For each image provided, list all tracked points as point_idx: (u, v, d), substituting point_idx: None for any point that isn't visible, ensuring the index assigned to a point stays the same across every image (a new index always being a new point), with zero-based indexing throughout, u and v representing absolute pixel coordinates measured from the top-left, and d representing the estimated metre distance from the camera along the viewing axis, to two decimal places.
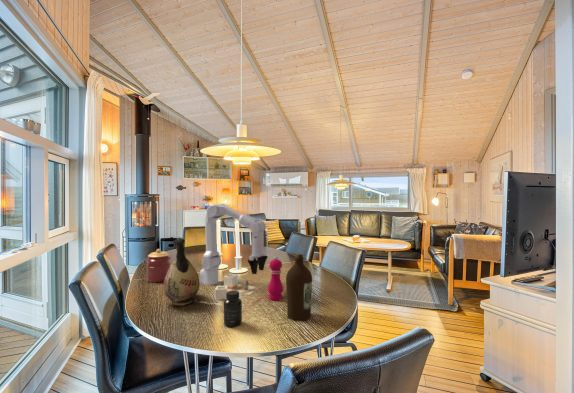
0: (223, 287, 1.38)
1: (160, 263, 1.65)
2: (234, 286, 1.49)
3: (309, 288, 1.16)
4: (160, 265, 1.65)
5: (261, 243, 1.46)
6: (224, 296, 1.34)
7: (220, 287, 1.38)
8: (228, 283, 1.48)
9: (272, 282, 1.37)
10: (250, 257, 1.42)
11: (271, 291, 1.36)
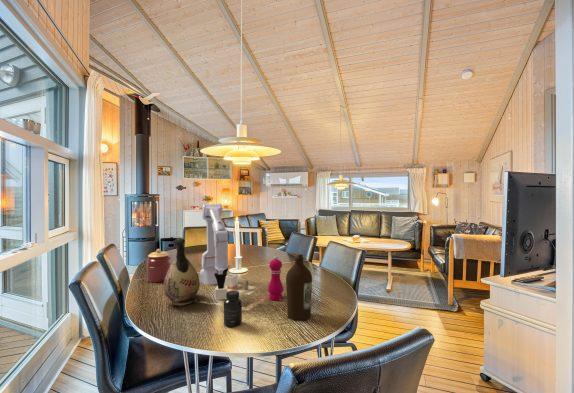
0: None
1: (160, 263, 1.65)
2: (234, 286, 1.49)
3: (309, 288, 1.16)
4: (160, 265, 1.65)
5: (220, 255, 1.33)
6: (224, 296, 1.34)
7: None
8: (228, 283, 1.48)
9: (272, 282, 1.37)
10: (219, 271, 1.29)
11: (271, 291, 1.36)
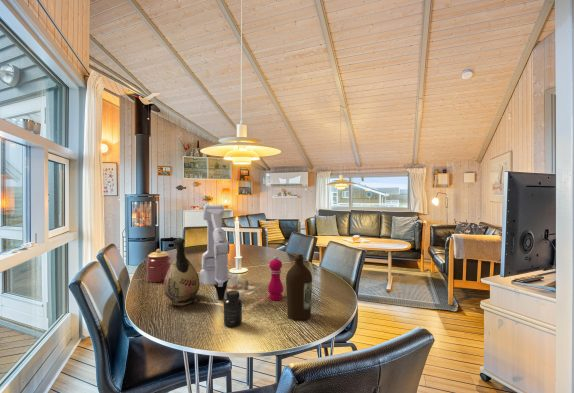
0: None
1: (160, 263, 1.65)
2: (234, 286, 1.49)
3: (309, 288, 1.16)
4: (160, 265, 1.65)
5: (220, 267, 1.33)
6: (224, 296, 1.34)
7: None
8: (228, 283, 1.48)
9: (272, 282, 1.37)
10: (219, 283, 1.29)
11: (271, 291, 1.36)
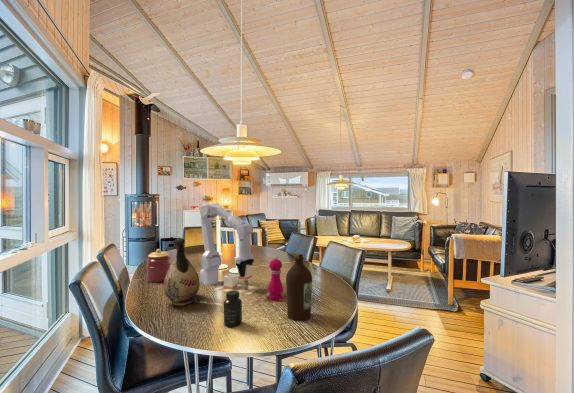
0: (248, 266, 1.48)
1: (160, 263, 1.65)
2: (234, 286, 1.49)
3: (309, 288, 1.16)
4: (160, 265, 1.65)
5: (247, 246, 1.44)
6: (245, 274, 1.44)
7: None
8: (228, 283, 1.48)
9: (272, 282, 1.37)
10: (237, 260, 1.40)
11: (271, 291, 1.36)
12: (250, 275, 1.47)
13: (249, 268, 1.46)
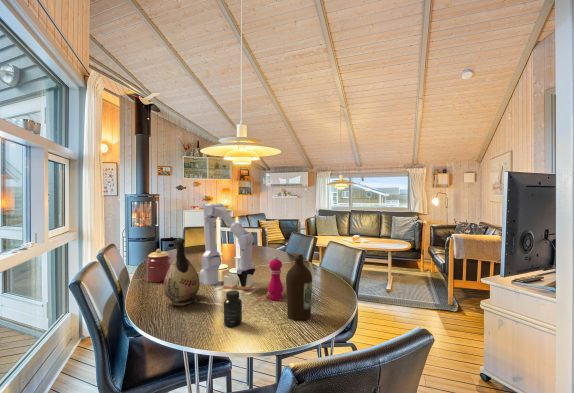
0: (249, 275, 1.49)
1: (160, 263, 1.65)
2: (234, 286, 1.49)
3: (309, 288, 1.16)
4: (160, 265, 1.65)
5: (249, 256, 1.45)
6: (246, 283, 1.44)
7: None
8: (228, 283, 1.48)
9: (272, 282, 1.37)
10: (238, 270, 1.41)
11: (271, 291, 1.36)
12: (251, 285, 1.47)
13: (250, 278, 1.46)
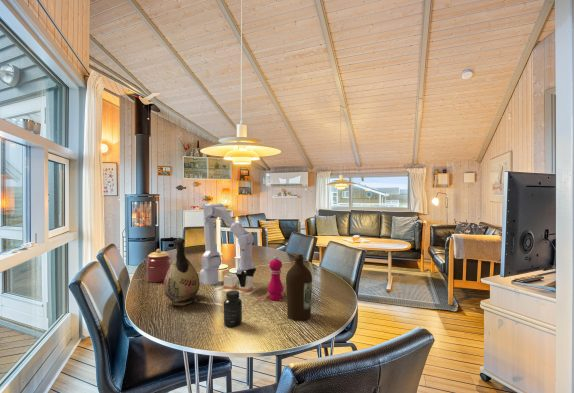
0: (249, 277, 1.49)
1: (160, 263, 1.65)
2: (234, 286, 1.49)
3: (309, 288, 1.16)
4: (160, 265, 1.65)
5: (249, 256, 1.45)
6: (246, 286, 1.44)
7: (246, 277, 1.49)
8: (228, 283, 1.48)
9: (272, 282, 1.37)
10: (238, 270, 1.41)
11: (271, 291, 1.36)
12: (251, 287, 1.47)
13: (250, 280, 1.46)
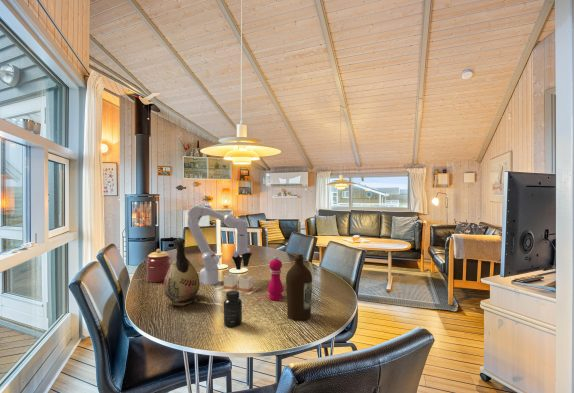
0: (249, 277, 1.49)
1: (160, 263, 1.65)
2: (234, 286, 1.49)
3: (309, 288, 1.16)
4: (160, 265, 1.65)
5: (246, 241, 1.58)
6: (246, 286, 1.44)
7: (246, 277, 1.49)
8: (228, 283, 1.48)
9: (272, 282, 1.37)
10: (234, 254, 1.53)
11: (271, 291, 1.36)
12: (251, 287, 1.47)
13: (250, 280, 1.46)
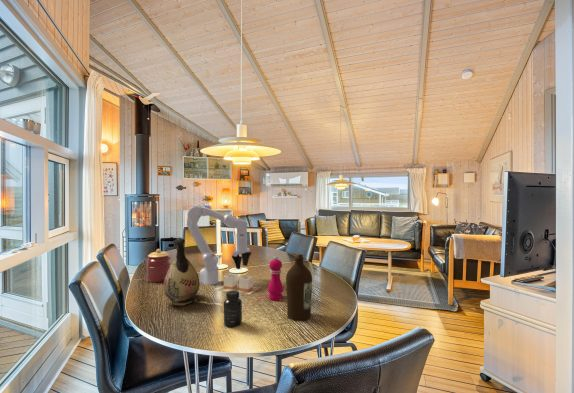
0: (249, 277, 1.49)
1: (160, 263, 1.65)
2: (234, 286, 1.49)
3: (309, 288, 1.16)
4: (160, 265, 1.65)
5: (246, 240, 1.60)
6: (246, 286, 1.44)
7: (246, 277, 1.49)
8: (228, 283, 1.48)
9: (272, 282, 1.37)
10: (234, 253, 1.54)
11: (271, 291, 1.36)
12: (251, 287, 1.47)
13: (250, 280, 1.46)
